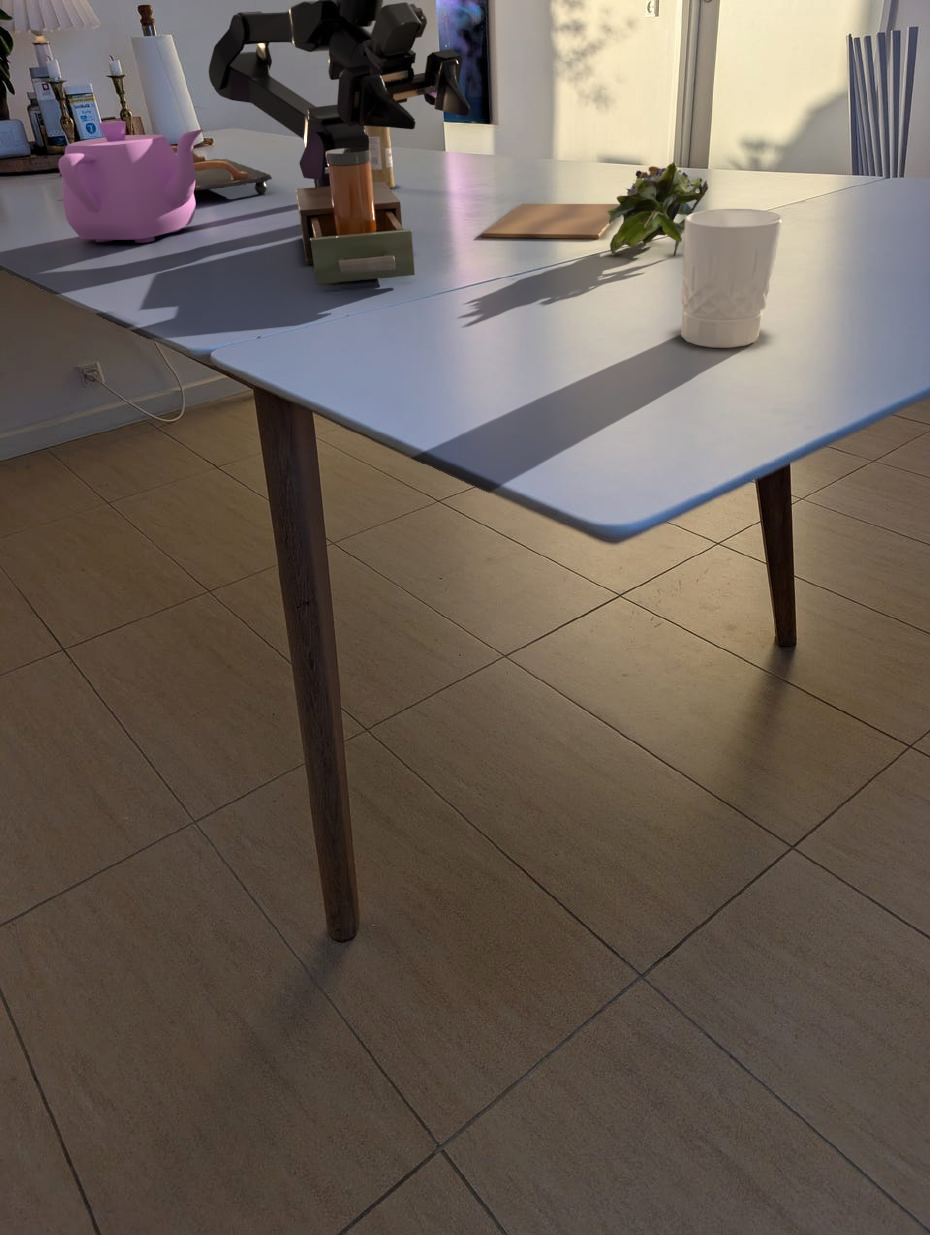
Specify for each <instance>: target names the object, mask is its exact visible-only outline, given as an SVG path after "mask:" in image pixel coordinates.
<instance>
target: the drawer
mask: <svg viewBox="0 0 930 1235" xmlns="http://www.w3.org/2000/svg"><path fill="white" fill-rule="evenodd" d="M375 217H376V227H377V232H374V233H362V234H351V235H340V236H336V228H335V219H334V214H322V215H310V219H311V226H312V233H313V238H310V241H311V248H312V255H313V263H314V265H313V269H314V277H315V283H316V285H325V284H336V283H345V282H346V283H348V282H357V281H358V282H359V281H366V280H377V279H387V278H399V277H409V276H415V275H416V273H415V272H416V271H415V258H414V246H413V244H414V243H413V231H412V230H411V229H409V228H408V229H404V227H403V225H402V226H401V225H400V223H399V222H398V220H397V219H396V217H395V216H394V215H393V213H392V212H391V210H390V209H381V210H375Z"/></svg>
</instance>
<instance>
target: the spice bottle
mask: <svg viewBox="0 0 930 1235" xmlns="http://www.w3.org/2000/svg"><path fill="white" fill-rule="evenodd" d="M326 161H327V164H328V168H327V169H328V170H329V178H330V186H331V195H332V203H333V211H334V219H335V228H336V236H340V235H351V234H362V233H374V232H377V227H376V217H375V207H374V197H373V186H372V176H371V166H370V161H371V156H370V149H368V148H342V149H334V150H329V151H327V152H326Z"/></svg>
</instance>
